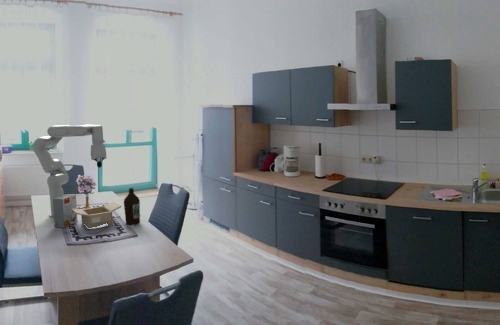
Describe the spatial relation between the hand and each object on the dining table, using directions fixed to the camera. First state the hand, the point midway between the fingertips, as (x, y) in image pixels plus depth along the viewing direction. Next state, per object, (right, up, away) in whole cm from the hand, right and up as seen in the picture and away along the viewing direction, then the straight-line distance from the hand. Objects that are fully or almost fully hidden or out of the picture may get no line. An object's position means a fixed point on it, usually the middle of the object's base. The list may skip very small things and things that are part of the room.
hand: (99, 167), depth 295 cm
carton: (+4, -40, -15) cm, 43 cm away
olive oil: (+28, -39, -13) cm, 50 cm away
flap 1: (-5, -29, -23) cm, 38 cm away
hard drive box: (-18, -40, -14) cm, 46 cm away
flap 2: (+13, -27, -10) cm, 32 cm away
